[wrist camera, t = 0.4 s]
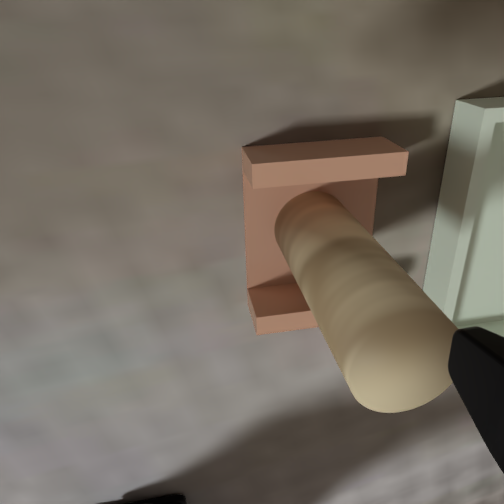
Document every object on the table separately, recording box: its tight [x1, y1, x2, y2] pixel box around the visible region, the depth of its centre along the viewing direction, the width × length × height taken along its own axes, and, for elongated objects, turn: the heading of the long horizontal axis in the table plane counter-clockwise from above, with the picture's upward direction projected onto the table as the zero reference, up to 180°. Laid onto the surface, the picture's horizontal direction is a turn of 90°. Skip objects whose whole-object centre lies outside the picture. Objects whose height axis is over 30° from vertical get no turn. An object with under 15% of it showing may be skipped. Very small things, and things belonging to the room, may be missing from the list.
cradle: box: [242, 136, 409, 335], centre depth 21 cm, size 8×6×3 cm
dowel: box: [274, 191, 458, 413], centre depth 18 cm, size 4×4×10 cm
